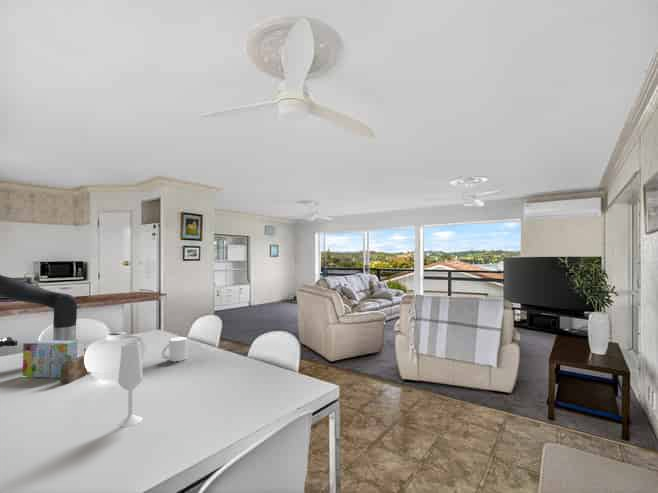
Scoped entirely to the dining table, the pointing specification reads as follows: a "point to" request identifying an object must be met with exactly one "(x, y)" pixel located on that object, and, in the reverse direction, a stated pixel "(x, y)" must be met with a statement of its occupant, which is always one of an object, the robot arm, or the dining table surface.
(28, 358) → the snack box
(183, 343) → the mug
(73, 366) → the block
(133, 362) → the champagne flute
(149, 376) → the dining table surface
